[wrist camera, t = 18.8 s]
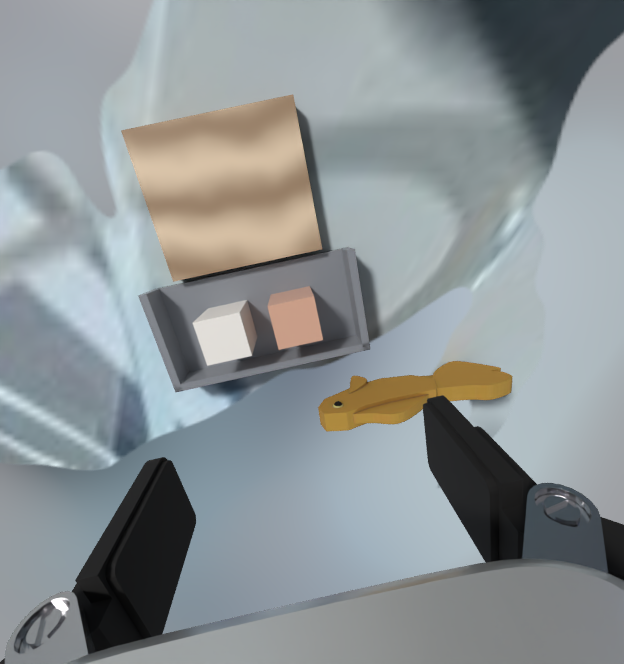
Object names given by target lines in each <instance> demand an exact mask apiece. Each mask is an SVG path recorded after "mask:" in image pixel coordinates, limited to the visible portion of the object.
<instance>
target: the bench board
mask: <svg viewBox="0 0 624 664" xmlns="http://www.w3.org/2000/svg"><path fill="white" fill-rule="evenodd" d="M121 132H122V134H123V137H124V140H125V143H126V146H127V149H128V152H129V155H130V158H131V160H132V163H133V166H134V169H135V172H136V175H137V178H138V181H139V184H140V186H141V189H142V192H143V195H144V198H145V201H146V204H147V207H148V210H149V213H150V215H151V218H152V221H153V224H154V227H155V230H156V233H157V236H158V239H159V241H160V244H161V247H162V250H163V253H164V256H165V259H166V262H167V265H168V267H169V270H170V273H171V276H172V279H173V282H174V281H178V280H183V279H187V278H192V277H197V276H201V275H206V274H210V273H215V272H220V271H224V270H229V269H234V268H238V267H243V266H247V265H252V264H257V263H261V262H266V261H270V260H275V259H280V258H284V257H289V256H294V255H298V254H303V253H307V252H312V251H317V250H321V249H322V245H321V240H320V235H319V229H318V224H317V219H316V213H315V208H314V203H313V197H312V192H311V187H310V181H309V176H308V171H307V165H306V160H305V155H304V149H303V144H302V139H301V133H300V128H299V123H298V118H297V112H296V107H295V102H294V96H293V95H288V96H284V97H279V98H274V99H269V100H265V101H260V102H255V103H250V104H246V105H241V106H236V107H231V108H226V109H222V110H217V111H212V112H207V113H203V114H198V115H193V116H188V117H184V118H179V119H174V120H169V121H165V122H160V123H155V124H150V125H145V126H141V127H136V128H131V129H126V130H122V131H121Z"/></svg>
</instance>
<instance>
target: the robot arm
mask: <svg viewBox="0 0 624 664" xmlns="http://www.w3.org/2000/svg"><path fill="white" fill-rule="evenodd" d="M423 414H424V425H425V434H426V445H427V455H428V463H429V467H430V469H431V471H432V473H433V475H434V477H435V478H436V480H437V482H438V483H439V485H440V487H441V488H442V490H443V492H444V493H445V495H446V497H447V499H448V500H449V502H450V504H451V505H452V507H453V508H454V510H455V512H456V514H457V515H458V517H459V518H460V520H461V522H462V524H463V525H464V527H465V529H466V530H467V532H468V534H469V535H470V537H471V539H472V540H473V542H474V544H475V545H476V547H477V549H478V550H479V552H480V554H481V555H482V557H483V559H484V560H485V562H486V563H480V564H474V565H469V566H464V567H459V568H454V569H449V570H444V571H439V572H434V573H429V574H424V575H420V576H415V577H411V578H406V579H402V580H397V581H393V582H388V583H384V584H379V585H375V586H370V587H366V588H361V589H357V590H352V591H347V592H343V593H339V594H334V595H330V596H326V597H321V598H317V599H312V600H308V601H303V602H299V603H295V604H290V605H286V606H282V607H277V608H273V609H268V610H264V611H260V612H256V613H251V614H247V615H243V616H238V617H234V618H230V619H225V620H221V621H217V622H213V623H209V624H204V625H200V626H196V627H191V628H188V629H183V630H179V631H174V632H170V633H166V634H162V633H163V630H164V627H165V624H166V620H167V617H168V614H169V610H170V607H171V604H172V600H173V597H174V594H175V591H176V587H177V584H178V581H179V577H180V574H181V571H182V568H183V564H184V561H185V558H186V554H187V551H188V548H189V545H190V541H191V538H192V535H193V531H194V528H195V524H196V515H195V512H194V510H193V508H192V506H191V503H190V501H189V499H188V496H187V494H186V492H185V490H184V487H183V485H182V483H181V481H180V478H179V476H178V474H177V472H176V469H175V467H174V465H173V463H172V461H170V460H167V459H166V458H164V457H162V458H158V459H154V460H149V461H147V462H146V463H145V465H144V466H143V468H142V469H141V471H140V473H139V474H138V476H137V478H136V480H135V482H134V483H133V485H132V486H131V488H130V489H129V491H128V493H127V495H126V496H125V498H124V500H123V501H122V503H121V505H120V506H119V508H118V510H117V511H116V513H115V515H114V516H113V518H112V520H111V521H110V523H109V525H108V527H107V528H106V530H105V531H104V533H103V535H102V536H101V538H100V540H99V541H98V543H97V545H96V546H95V548H94V550H93V551H92V553H91V555H90V556H89V558H88V560H87V562H86V563H85V565H84V566H83V568H82V570H81V572H80V573H79V575H78V577H77V578H76V582H77V584H76V585H75V587H74V589H73V590H72V592H70V591H65V592H60V593H57V594H55V595H53V596H51V597H49V598H48V599H46V600H44V601H43V602H41V603H40V604H39V605H38V606H37V607H35V608H34V609H33V610H32V611H31V612H30V613H29V614H28V615H27V616H26V617H25V618H24V619H23V620H22V621H21V622H20V624H19V625H18V626H17V628H16V629H15V631H14V632H13V633H12V635H11V637H10V639H9V641H8V643H7V647H6V651H5V658H4V659H3V660H2V661H1V662H0V664H624V525H623V524H620V523H617V522H613V521H611V520H608V519H605V518H602V517H600V514H599V512H598V509H597V508H596V507H595V505H593V503H592V502H591V501H590V500H589V499H588V498H586V497H585V496H584V495H583V494H581V493H579V492H577V491H576V490H574V489H572V488H569V487H566V486H563V485H560V484H554V483H541V484H538V485H537V484H536V483H535V482H534V481H533V480H532V479H531V478H530V477H529V476H528V475H527V474H526V472H525V471H523V470H522V468H521V467H520V466H519V465H518V464H517V463H516V462H515V461H514V460H513V459H512V458H511V457H509V455H508V454H507V453H506V452H505V451H504V450H503V449H502V448H501V447H500V446H499V445H498V444H497V443H496V442H495V441H494V440H493V439H492V438H491V437H490V436H489V435H488V434H487V433H486V432H485V431H484V430H483V429H482V428H481V427H478V426H477V427H473V425H472V424H471V423H470V422H469V421H468V420H467V419H466V418H465V417H464V416H463V415H462V414H461V413H460V412H459V411H458V410H457V409H456V407H455V406H454V405H453V404H452V403H451V402H450V401H449V400H448V399H447V398H446V397H445V396H444V395H441V396H437V397H432V398H428V399H427V403H424V404H423Z"/></svg>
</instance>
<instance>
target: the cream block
mask: <svg viewBox="0 0 624 664" xmlns="http://www.w3.org/2000/svg"><path fill="white" fill-rule="evenodd" d="M193 326H194V329H195V332H196V334H197V337H198V340H199V343H200V346H201V349H202V352H203V355H204V358H205V361H206V364H207V366H208V365H213V364H217V363H222V362H226V361H231V360H235V359H240V358H244V357H249V356H252V354H253V350H254V347H255V343H256V340H257V333H256V330H255V326H254V323H253V319H252V315H251V312H250V308H249V305H248V301H247V300H244V301H239V302H235V303H230V304H226V305H221V306H217V307H212V308H208V309H207V310H206V311H205V312H204V313H203V314H201V315H200V316H199V317H198V318H197V319H196V320H195V321H194V322H193Z"/></svg>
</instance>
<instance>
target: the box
mask: <svg viewBox="0 0 624 664" xmlns="http://www.w3.org/2000/svg"><path fill="white" fill-rule="evenodd" d="M308 286H310V288H311V290H312V293H313V295H314V298H315V303H316V308H317V313H318V317H319V322H320V327H321V332H322V337H323V340H321V341H317V342H312V343H308V344H303V345H299V346H294V347H290V348H285V349H281V350H279V349H278V345H277V341H276V338H275V334H274V330H273V326H272V322H271V318H270V314H269V310H268V303H269V299H270V295H271V294H276V293H280V292H285V291H290V290H294V289H299V288H303V287H308ZM139 299H140V301H141V304H142V307H143V309H144V312H145V314H146V317H147V320H148V322H149V325H150V327H151V330H152V332H153V335H154V338H155V340H156V343H157V345H158V348H159V351H160V353H161V356H162V358H163V361H164V363H165V366H166V369H167V371H168V374H169V376H170V379H171V382H172V384H173V387H174V389H175V392H179V391H184V390H188V389H193V388H198V387H202V386H207V385H211V384H216V383H220V382H225V381H229V380H234V379H238V378H243V377H247V376H252V375H256V374H261V373H265V372H270V371H274V370H279V369H283V368H288V367H292V366H297V365H301V364H306V363H310V362H315V361H320V360H324V359H329V358H333V357H338V356H342V355H347V354H351V353H356V352H360V351H365V350H369V349H370V344H369V337H368V331H367V325H366V318H365V312H364V305H363V299H362V293H361V286H360V280H359V273H358V267H357V260H356V254H355V249H353V248H348V247H347V248H342V249H337V250H333V251H328V252H323V253H319V254H314V255H310V256H305V257H300V258H296V259H291V260H287V261H282V262H277V263H273V264H268V265H264V266H259V267H254V268H250V269H245V270H240V271H236V272H231V273H227V274H222V275H217V276H213V277H208V278H204V279H199V280H194V281H190V282H185V283H180V284H176V285H171V286H167V287H162V288H157V289H154V290H151V291H149V292H146V293H144V294H142V295H139ZM244 300H247V301H248V305H249V308H250V312H251V315H252V319H253V323H254V326H255V330H256V333H257V340H256V343H255V347H254V350H253V354H252V356H249V357H244V358H240V359H235V360H231V361H226V362H222V363H217V364H213V365H208V366H207V364H206V361H205V358H204V355H203V352H202V349H201V346H200V343H199V340H198V337H197V334H196V332H195V329H194V326H193V322H194V321H195V320H196V319H197V318H198V317H199V316H200V315H201V314H203V313H204V312H205V311H206V310H207V309H208V308H212V307H217V306H221V305H226V304H230V303H235V302H239V301H244Z"/></svg>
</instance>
